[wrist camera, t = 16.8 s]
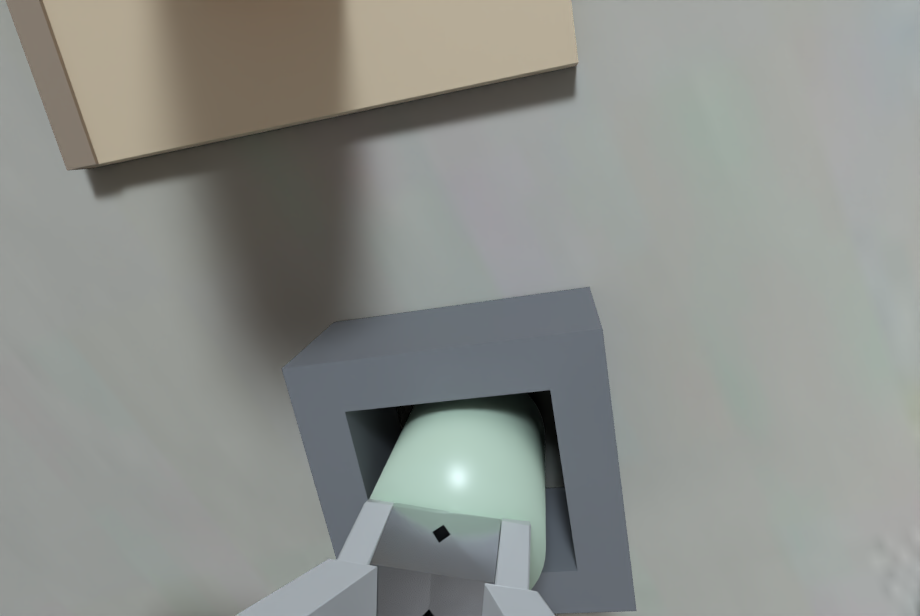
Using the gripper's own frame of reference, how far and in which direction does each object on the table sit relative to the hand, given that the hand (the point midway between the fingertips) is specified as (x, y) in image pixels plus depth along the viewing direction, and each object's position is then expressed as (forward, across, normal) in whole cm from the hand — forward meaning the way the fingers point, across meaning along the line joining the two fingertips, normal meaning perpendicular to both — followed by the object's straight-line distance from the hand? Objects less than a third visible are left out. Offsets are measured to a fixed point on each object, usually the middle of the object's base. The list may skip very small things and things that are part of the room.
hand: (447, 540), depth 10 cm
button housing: (+4, 0, 0) cm, 5 cm away
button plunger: (+4, 0, 0) cm, 4 cm away
